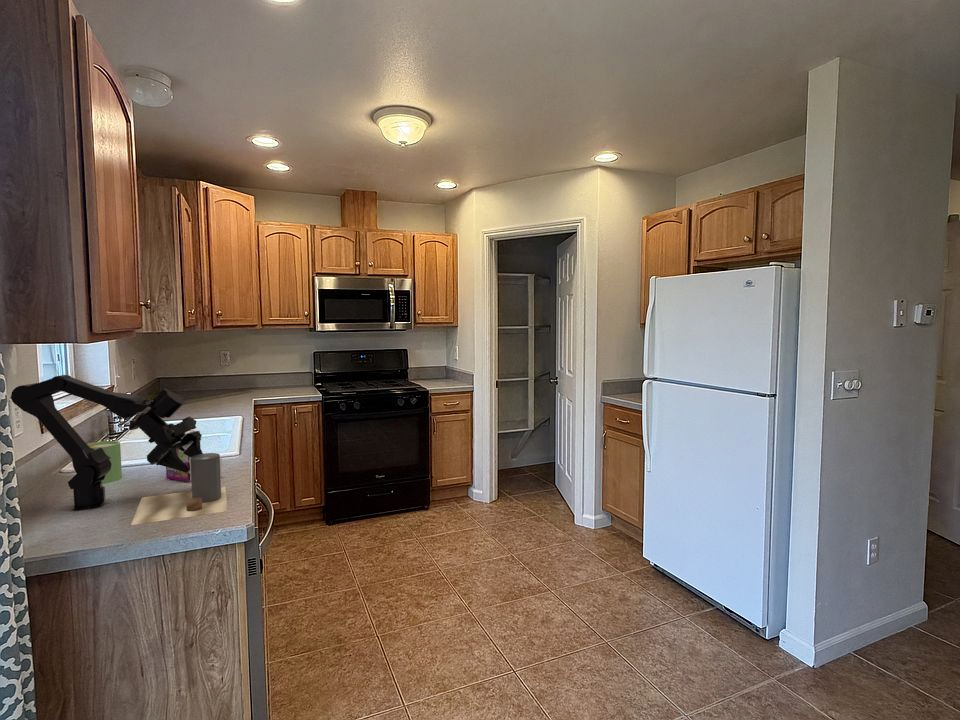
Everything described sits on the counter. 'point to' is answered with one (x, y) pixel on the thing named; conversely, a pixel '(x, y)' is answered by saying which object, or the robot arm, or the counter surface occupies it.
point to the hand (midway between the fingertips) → (197, 466)
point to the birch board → (174, 507)
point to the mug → (114, 452)
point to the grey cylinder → (206, 477)
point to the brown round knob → (194, 504)
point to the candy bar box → (176, 474)
